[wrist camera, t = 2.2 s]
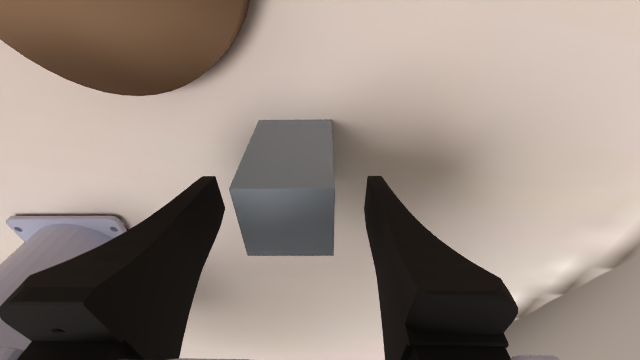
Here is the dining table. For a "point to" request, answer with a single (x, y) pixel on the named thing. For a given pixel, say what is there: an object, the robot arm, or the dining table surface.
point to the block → (287, 189)
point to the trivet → (123, 39)
